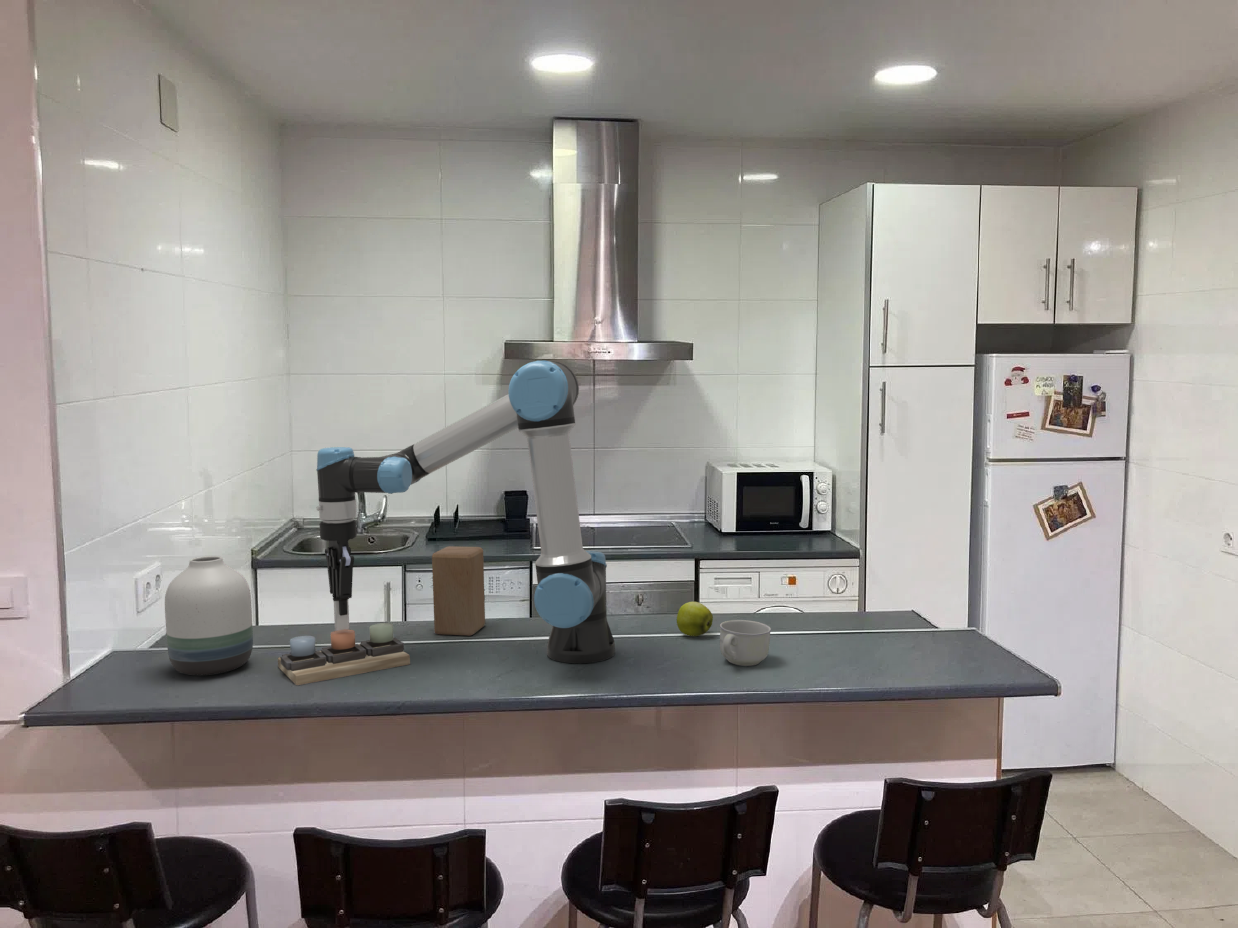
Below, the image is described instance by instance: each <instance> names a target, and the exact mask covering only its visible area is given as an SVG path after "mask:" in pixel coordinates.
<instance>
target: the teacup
mask: <svg viewBox="0 0 1238 928" xmlns="http://www.w3.org/2000/svg"><path fill="white" fill-rule="evenodd" d="M719 627H720V628H719V630H720V631H719V649H720V653H721V655H722V656H723V657H724V658H725V659H726V660H727V661H728V662H729V663H731V664H732V665H736V666H744V667H750V666H757V665H759V664H760V663H761V662H762V661H764V660H765V659H766V658H767V656H768V654H769V650H770V639H771V631H772V627H770V626H769V625H768V624H766V623H762V622H759V621H754V620H747V619H746V620H745V619H731V620H725V621H722V622H721V623H720V624H719Z"/></svg>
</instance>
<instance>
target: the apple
mask: <svg viewBox="0 0 1238 928" xmlns="http://www.w3.org/2000/svg"><path fill="white" fill-rule="evenodd" d="M713 620H714V616H713V613H712V611H711V610H710V609H709V608H708V607H706V605H704V604H703V603H702V602H698V601H689V602H686V603H684V604H683V605H681V606H680V607H679V609H678V611H677V614H676V625H677V628H678V630H679V631H680V632H681V633H682V634H683V635H686V636H688V637H699V636H703V635H705V634H706V633H707V632H709V630H710V629H711V627H712V626H713Z"/></svg>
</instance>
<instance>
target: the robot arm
mask: <svg viewBox="0 0 1238 928" xmlns="http://www.w3.org/2000/svg"><path fill="white" fill-rule="evenodd" d="M579 386H580V385H579V381H578V378H577V375H576V374H575V372H574V371H573V370H572V369H571V368H570V367H569V366H567V365H566V364H564V363H562V362H558V361H549V360H536V361H535V360H534V361H530V362H528V363H526V364H524V365H522V366H521V367H520V368H518V369H517V371H515V373H514V374H513V375H512V377H511V379H510V381H509V385H508V392H507V393H508V394H506V395H503V396H502V397H499V398H498V399H496V400H495V401H492V402H491V403H489V404H487V405H485V406H483V407H481V408H480V409H478V410H476V411H473V412H471V413H470V414H468V415H466V416H464V417H463V418H461V419H459V420H457V421H455V422H453V423H451V424H450V425H447V426H446V427H445V426H444V428H442V429H440V430H438V431H436V432H434V433H432V434H431V435H428V436H426V437H424V438H422V439H421V440H419V441H417V442H416V443H414V444H411V445H409V446H407V447H406V448H404V449H402V450H400V451H397V452H396V453H391V454H388V455H382V456H374V457H373V456H367V457H364V456H362V457H361V456H359V457H358V456H355V453H354V452H355V451H354V449H353V448H352V447H347V446H346V447H345V446H337V447H336V446H334V447H333V446H332V447H331V446H330V447H324V448H320V449H319V450H318V452H317V455H316V456H317V457H316V461H317V462H316V470H315V471H316V473H317V474H316V475H317V486H318V487H317V488H318V489H317V491H318V506H316V511H319V512H318V515H319V520H321V521H320V523H319V538H320V540H323V541H327V542H328V547H327V548H325V549H324V554H325V559H326V568H327V576H328V585H329V592H330V595H332V596H331V597H332V601H333V615H334V621H333V622H334V631H338V630H344V629H349V630H350V612H349V611H350V609H349V608H350V607H349V606H350V605H349V599H352V597H353V577H354V576H353V575H354V570H353V569H354V568H353V567H354V562H355V556H354V555H352V551H351V550H352V548H351V546H349V545H350V544H349V540H353V539H355V538H356V537H357V535H358V534H357V533H358V532H357V520H355V518H357V499H356V493H357V494H359V493H369V494H370V493H371V494H376V493H378V494H379V493H380V494H390V495H393V494H400V493H401V494H402V493H405V492H407V491H408V490H409V488H410V486H412V485H413V484H417V482H419V481H420V480H422V478H425V477H426V476H429V475H430V474H433V473H434V472H436V471H439V470H440V469H443V467H446V466H448V465H449V464H451V463H453V462H455V461H457V460H459V459H461V458H463V457H465V456H467V455H468V454H471V453H473V452H474V451H476V450H478V449H479V448H480V449H481V448H482V447H484V446H486V445H488V444H490V443H492V442H494V441H496V440H498V439H500V438H502V437H503V436H505V435H507V434H509V433H511V432H513V431H515V430H517V429H518V432H520V434H521V435H522V436H524V437H525V438H526V440H527V448H528V455H529V456H528V457H529V465H530V472H531V479H532V481H531V482H532V488H533V497H534V504H535V512H536V520H537V528H538V535H539V536H538V537H539V545H540V552H541V553H540V555H539V556H538V558H537V559H536V561H535V563H534V565H535V571H536V581H537V585H536V587H535V592H534V595H533V596H534V597H533V599H534V607H535V609H536V612H537V614H538V615H539V617H540V618H541V620H543V621H544V622H546V623H547V624H549V625H551V629H550V633H549V637H548V640H547V643H546V655H547V657H548V658H549V659H551V660H553V661H555V662H561V663H568V664H589V663H597V662H602V661H606V660H608V659H610V658H612V657H614V655H615V654H616V643H615V639H614V636H613V633H612V631H611V627H610V624H609V621H608V617H607V613H608V612H607V567H608V566H607V563H606V561H607V560H606V555H605V553H603V552H601V551H593V550H585V549H584V546H583V538H582V531H581V529H582V528H581V521H580V514H579V513H580V512H579V505H578V498H577V488H576V481H575V472H574V466H573V465H574V463H573V457H572V456H573V454H572V447H571V438H570V433H571V431H572V430H573V428H574V426H576V418H575V416H576V415H575V408H574V405H576V404H575V403H576V402H577V400H578V397H579V394H580V393H579V392H580V387H579Z"/></svg>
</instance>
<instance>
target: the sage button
mask: <svg viewBox="0 0 1238 928" xmlns="http://www.w3.org/2000/svg"><path fill="white" fill-rule="evenodd" d="M393 638H394V625H393V624H392V623H389V622H388V623H387V622H386V623H384V622H382V623H375V624H371V625H369V640H370V641H371V642H373V643H384V642H389V641H392V640H393Z"/></svg>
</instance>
